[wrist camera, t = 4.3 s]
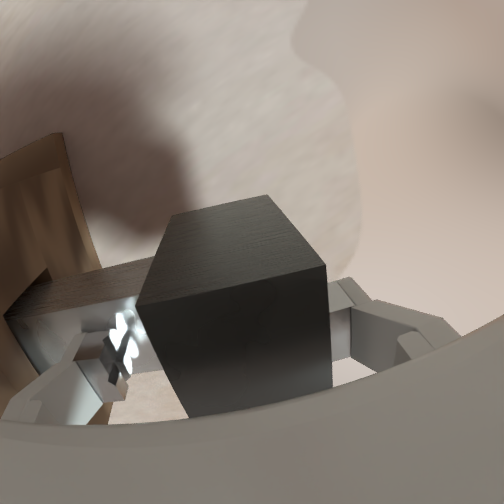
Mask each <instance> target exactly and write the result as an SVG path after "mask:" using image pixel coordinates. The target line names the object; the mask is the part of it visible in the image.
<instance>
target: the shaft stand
mask: <svg viewBox="0 0 504 504" xmlns="http://www.w3.org/2000/svg"><path fill="white" fill-rule="evenodd" d="M98 269H102V267H101V264H100V261H99V259H98V256H97V253H96V251H95V248H94V245H93V242H92V239H91V236H90V233H89V230H88V227H87V224H86V221H85V218H84V215H83V212H82V209H81V205H80V202H79V199H78V195H77V192H76V188H75V185H74V181H73V177H72V173H71V169H70V165H69V161H68V157H67V153H66V149H65V144H64V140H63V135H62V133H52V134H50V135H48V136H46V137H44V138H41V139H39V140H37V141H35V142H33V143H31V144H29V145H27V146H25V147H23V148H21V149H19V150H17V151H15V152H13V153H12V154H10V155H8V156H6V157H4V158H2V159H1V160H0V419H1V417H2V415H3V413H4V411H5V409H6V407H7V405H8V403H9V401H10V399H11V398H12V397H13V396H15V395H16V394H17V393H19V392H20V391H21V390H22V389H24V388H25V387H26V386H27V385H29V384H30V383H31V382H32V381H34V380H35V379H36V378H38V377H39V375H38V373H37V372H36V370H35V369H34V367H33V366H32V364H31V363H30V361H29V360H28V358H27V357H26V355H25V353H24V352H23V350H22V349H21V347H20V345H19V344H18V342H17V340H16V338H15V337H14V335H13V333H12V331H11V330H10V328H9V326H8V324H7V322H6V321H5V319H4V317H3V314H4V313H5V312H6V311H7V309H8V308H9V307H10V306H11V305H12V304H13V303H14V302H15V300H16V299H17V298H18V297H19V296H20V295H21V294H22V293H23V292H24V291H25V290H26V289H27V287H30V286H34V285H38V284H42V283H46V282H50V281H54V280H58V279H62V278H66V277H70V276H74V275H78V274H82V273H86V272H90V271H94V270H98ZM112 405H113V402H105V403H103V405H102V406H101V407H100V408H99V409H98V411H97V412H96V413H95V414H94V416H93V417H92V418H91V419H90V421H89V422H88V423H87V424H86V425H108V421H109V417H110V413H111V409H112Z"/></svg>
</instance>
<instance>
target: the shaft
mask: <svg viewBox="0 0 504 504" xmlns="http://www.w3.org/2000/svg"><path fill="white" fill-rule="evenodd" d="M3 317H4V319H5V321H6V322H7V324H8V326H9V328H10V330H11V331H12V333H13V335H14V337H15V338H16V340H17V342H18V344H19V345H20V347H21V349H22V350H23V352H24V353H25V355H26V357H27V358H28V360H29V361H30V363H31V364H32V366H33V367H34V369H35V370H36V372H37V373H38V375H39V376H40V375H41V374H43V373H44V372H45V371H47V370H48V369H49V368H50V367H52V366H53V365H54V364H56V363H60V361H61V359H62V357H63V355H64V353H65V351H66V350H67V348H68V346H69V344H70V342H71V340H72V339H73V337H74V335H76V334H80V333H85V332H94V331H101V330H108V329H115V330H116V331H117V332H118V334H119V336H120V338H121V342H120V345H121V346H122V347H124V348H125V349H126V350H127V351H128V353H129V355H130V359H131V362H132V373H131V374H135V373H143V372H151V371H158V370H164V372H165V374H166V375H167V377H168V379H169V381H170V383H171V385H172V387H173V389H174V391H175V393H176V395H177V397H178V398H179V400H180V402H181V404H182V406H183V408H184V409H185V411H186V413H187V415H188V417H189V418H195V417H202V416H209V415H216V414H222V413H227V412H233V411H238V410H244V409H249V408H254V407H259V406H263V405H268V404H272V403H277V402H281V401H285V400H289V399H293V398H297V397H301V396H305V395H309V394H312V393H316V392H319V391H323V390H326V389H330V388H333V381H332V350H331V330H330V313H329V298H328V285H327V272H326V264H325V263H324V262H323V260H322V259H321V258H320V257H319V256H318V254H317V253H316V252H315V251H314V249H313V248H312V247H311V246H310V245H309V243H308V242H307V241H306V240H305V238H304V237H303V236H302V235H301V234H300V232H299V231H298V230H297V229H296V228H295V226H294V225H293V224H292V223H291V222H290V221H289V219H288V218H287V217H286V216H285V215H284V213H283V212H282V211H281V210H280V209H279V208H278V206H277V205H276V204H275V203H274V202H273V201H272V199H271V198H270V197H269V196H268V195H262V196H258V197H253V198H248V199H243V200H239V201H234V202H229V203H225V204H220V205H216V206H212V207H207V208H203V209H199V210H194V211H190V212H186V213H182V214H178V215H173V216H172V217H171V219H170V222H169V224H168V226H167V228H166V231H165V233H164V235H163V238H162V240H161V242H160V245H159V247H158V249H157V252H156V254H155V256H153V257H148V258H144V259H140V260H136V261H131V262H127V263H123V264H119V265H115V266H111V267H106V268H102V269H98V270H94V271H90V272H86V273H82V274H78V275H74V276H70V277H66V278H62V279H58V280H54V281H50V282H46V283H42V284H38V285H34V286H30V287H27V289H26V290H25V291H24V292H23V293H22V294H21V295H20V296H19V297H18V298H17V299H16V300H15V302H14V303H13V304H12V305H11V306H10V307H9V308H8V309H7V311H6V312H5V313H4V314H3Z"/></svg>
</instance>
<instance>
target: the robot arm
mask: <svg viewBox="0 0 504 504" xmlns="http://www.w3.org/2000/svg"><path fill="white" fill-rule="evenodd" d="M327 285H328V298H329V313H330V330H331V350H332V362H333V361H337V360H340V359H344V358H348V357H351V358H353V359H354V360H356V361H358V362H360V363H362V364H363V365H365V366H367V367H368V368H370V369H372V370H374V371H376V372H377V373H375V374H373V375H370V376H367V377H364V378H361V379H358V380H355V381H352V382H349V383H346V384H343V385H340V386H336V387H333V388H330V389H326V390H323V391H319V392H316V393H312V394H309V395H305V396H301V397H297V398H293V399H289V400H285V401H281V402H277V403H272V404H268V405H263V406H259V407H254V408H249V409H244V410H238V411H233V412H227V413H222V414H216V415H209V416H202V417H195V418H188V419H180V420H171V421H160V422H149V423H134V424H112V425H86V424H87V423H88V422H89V421H90V419H91V418H92V417H93V416H94V414H95V413H96V412H97V411H98V409H99V408H100V407H101V406H102V405H103V403H105V402H115V401H125V398H126V394H127V390H128V384H127V383H126V381H127V380H128V379H129V378H130V377H131V373H132V362H131V359H130V355H129V353H128V351H127V350H126V349H125V348H124V347H122V346H121V345H120V342H121V338H120V336H119V334H118V332H117V331H116V330H115V329H108V330H101V331H94V332H85V333H80V334H76V335H74V337H73V339H72V340H71V342H70V344H69V346H68V348H67V350H66V351H65V353H64V355H63V357H62V359H61V361H60V363H56V364H54V365H53V366H52V367H50V368H49V369H48V370H47V371H45V372H44V373H43V374H41V375H40V376H39V377H38V378H36V379H35V380H34V381H32V382H31V383H30V384H29V385H27V386H26V387H25V388H24V389H22V390H21V391H20V392H19V393H17V394H16V395H15V396H13V397H12V398H11V399H10V401H9V403H8V405H7V407H6V409H5V411H4V413H3V415H2V417H1V419H0V504H504V314H503V315H502V316H500V317H498V318H496V319H495V320H493V321H491V322H489V323H487V324H486V325H484V326H482V327H480V328H478V329H476V330H474V331H472V332H470V333H468V334H466V335H464V336H462V337H461V336H460V335H459V334H458V333H457V332H456V331H455V330H454V329H453V328H452V327H451V326H450V325H449V324H448V323H447V322H446V321H445V320H444V319H443V318H441V317H437V316H433V315H430V314H426V313H423V312H419V311H416V310H412V309H408V308H405V307H401V306H398V305H394V304H391V303H387V302H383V301H380V300H374V301H372V300H371V299H370V298H369V296H368V295H367V294H366V293H365V292H364V291H363V290H362V289H361V288H360V286H359V285H358V284H357V283H356V282H355V281H354V280H353V279H352V278H351V277H347V278H343V279H340V280H337V281H333V282H330V283H327Z"/></svg>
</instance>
